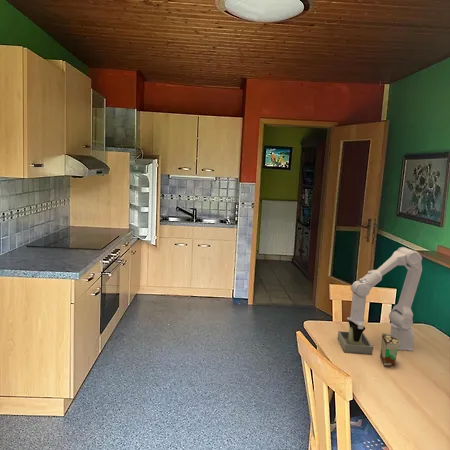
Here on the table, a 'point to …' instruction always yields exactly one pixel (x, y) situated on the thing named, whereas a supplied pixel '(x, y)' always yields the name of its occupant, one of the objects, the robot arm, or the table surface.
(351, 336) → the block
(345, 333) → the bin
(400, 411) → the table surface
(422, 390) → the table surface
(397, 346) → the food container
